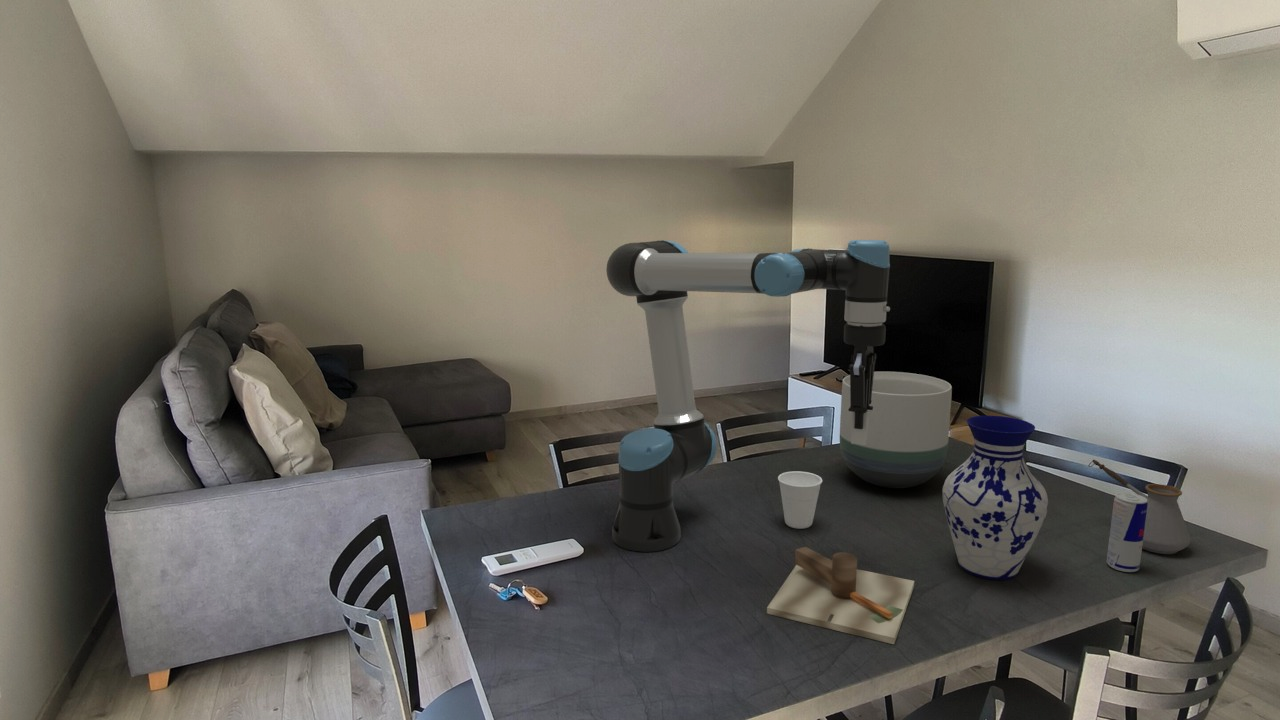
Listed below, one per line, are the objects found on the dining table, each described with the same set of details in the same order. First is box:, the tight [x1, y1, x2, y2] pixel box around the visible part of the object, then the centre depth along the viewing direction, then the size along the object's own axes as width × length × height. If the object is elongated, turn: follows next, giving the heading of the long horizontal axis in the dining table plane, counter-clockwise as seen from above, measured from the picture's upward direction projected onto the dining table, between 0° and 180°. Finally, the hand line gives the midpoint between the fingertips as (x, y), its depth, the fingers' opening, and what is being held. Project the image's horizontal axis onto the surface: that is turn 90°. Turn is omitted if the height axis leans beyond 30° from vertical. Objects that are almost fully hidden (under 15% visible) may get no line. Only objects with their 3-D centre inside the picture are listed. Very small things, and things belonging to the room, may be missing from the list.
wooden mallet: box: [794, 546, 893, 619], centre depth 141 cm, size 22×4×7 cm, turn 32°
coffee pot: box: [1088, 459, 1192, 555], centre depth 165 cm, size 21×12×15 cm, turn 29°
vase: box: [942, 415, 1049, 581], centre depth 151 cm, size 19×19×30 cm
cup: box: [777, 470, 823, 530], centre depth 174 cm, size 10×10×11 cm
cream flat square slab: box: [766, 564, 915, 645], centre depth 141 cm, size 22×22×1 cm
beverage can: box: [1106, 491, 1148, 573], centre depth 152 cm, size 6×6×15 cm
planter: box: [839, 371, 953, 489], centre depth 198 cm, size 27×27×27 cm
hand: (859, 443), depth 148 cm, fingers closed
